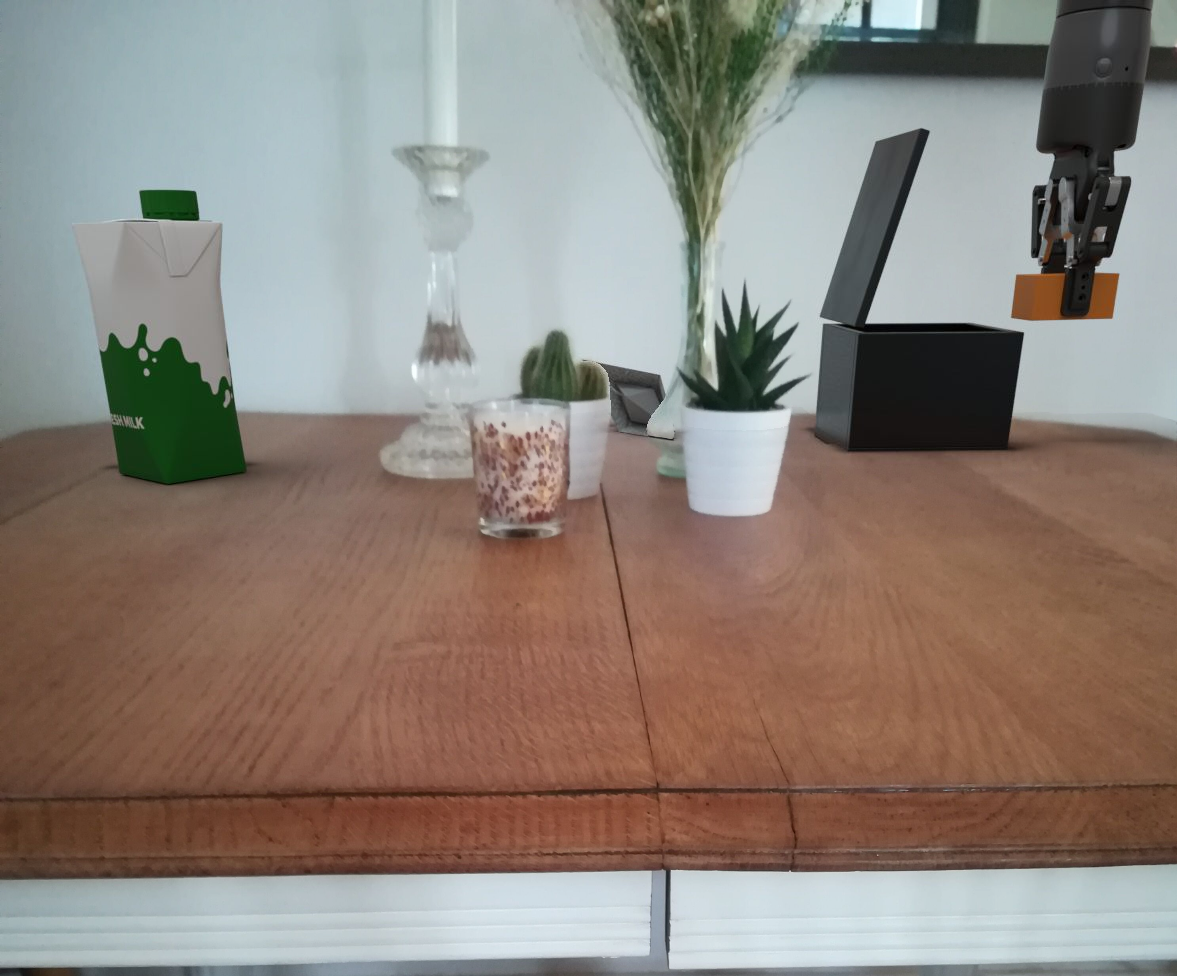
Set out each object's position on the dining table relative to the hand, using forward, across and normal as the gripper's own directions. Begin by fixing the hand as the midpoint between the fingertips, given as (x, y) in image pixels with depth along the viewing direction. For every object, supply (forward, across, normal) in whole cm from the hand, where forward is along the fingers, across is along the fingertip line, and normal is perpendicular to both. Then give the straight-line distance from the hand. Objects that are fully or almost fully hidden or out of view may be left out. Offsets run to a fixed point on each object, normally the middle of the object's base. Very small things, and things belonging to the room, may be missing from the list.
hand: (1061, 313), depth 99 cm
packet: (0, 0, 0) cm, 0 cm away
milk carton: (+10, -10, +73) cm, 75 cm away
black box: (+11, 0, +12) cm, 16 cm away
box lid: (-7, 0, +17) cm, 18 cm away
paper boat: (+10, +9, +36) cm, 39 cm away
